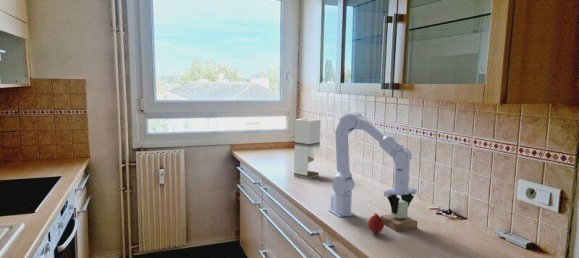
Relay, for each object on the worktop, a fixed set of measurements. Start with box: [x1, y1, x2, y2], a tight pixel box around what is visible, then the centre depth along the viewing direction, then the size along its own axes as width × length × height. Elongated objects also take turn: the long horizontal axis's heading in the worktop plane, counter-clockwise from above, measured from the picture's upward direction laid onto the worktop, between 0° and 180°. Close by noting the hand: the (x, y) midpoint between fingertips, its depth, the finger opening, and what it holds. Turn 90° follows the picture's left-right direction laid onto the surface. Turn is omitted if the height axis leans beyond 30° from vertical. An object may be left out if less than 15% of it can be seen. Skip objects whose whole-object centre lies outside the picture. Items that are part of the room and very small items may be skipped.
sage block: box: [390, 199, 409, 218], centre depth 151 cm, size 4×4×6 cm
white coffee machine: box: [293, 117, 322, 180], centre depth 230 cm, size 11×11×35 cm
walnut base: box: [380, 213, 418, 233], centre depth 151 cm, size 10×10×3 cm
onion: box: [367, 212, 385, 235], centre depth 142 cm, size 6×6×8 cm
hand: (399, 212), depth 151 cm, fingers closed on sage block, 4 cm apart
